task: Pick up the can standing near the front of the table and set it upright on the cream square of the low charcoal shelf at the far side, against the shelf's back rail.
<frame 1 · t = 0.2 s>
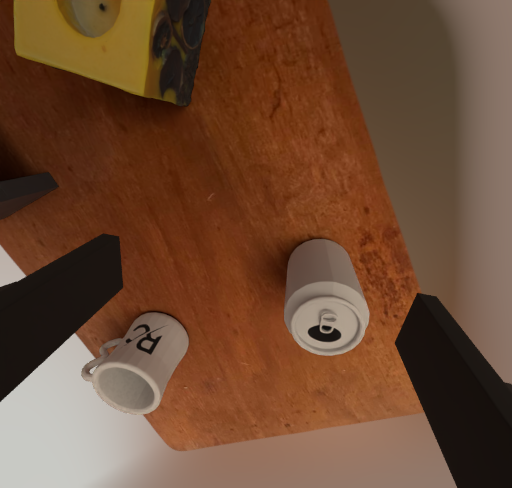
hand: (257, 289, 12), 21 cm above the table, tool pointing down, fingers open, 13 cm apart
can: (318, 263, 34), on the table
mug: (153, 332, 43), on the table
candle: (153, 38, 27), on the table
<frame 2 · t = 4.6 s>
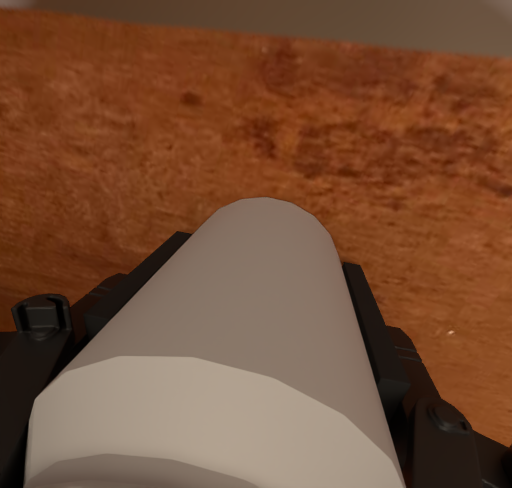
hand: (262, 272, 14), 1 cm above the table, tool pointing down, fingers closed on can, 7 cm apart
can: (265, 260, 15), on the table, touching gripper
when the fingers open (9 cm above the table, at t = 13.4 s): can stays where it is, resting on shelf.
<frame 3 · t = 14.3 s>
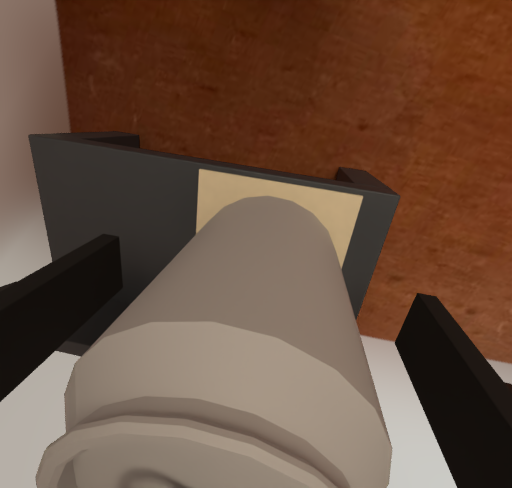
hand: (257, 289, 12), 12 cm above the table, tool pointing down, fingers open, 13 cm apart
can: (267, 255, 16), point 8 cm above the table, touching shelf
shelf: (229, 216, 24), on the table
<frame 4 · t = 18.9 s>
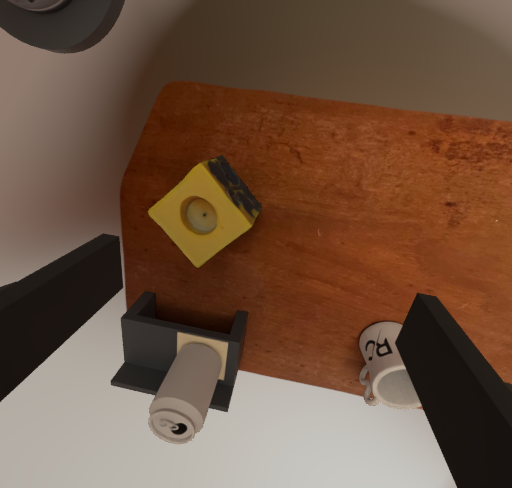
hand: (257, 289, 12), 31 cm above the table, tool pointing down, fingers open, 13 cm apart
can: (201, 356, 46), point 8 cm above the table, touching shelf
shelf: (194, 324, 54), on the table
mug: (378, 344, 50), on the table
candle: (219, 200, 43), on the table
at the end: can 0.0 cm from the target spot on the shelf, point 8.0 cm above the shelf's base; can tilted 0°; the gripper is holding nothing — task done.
